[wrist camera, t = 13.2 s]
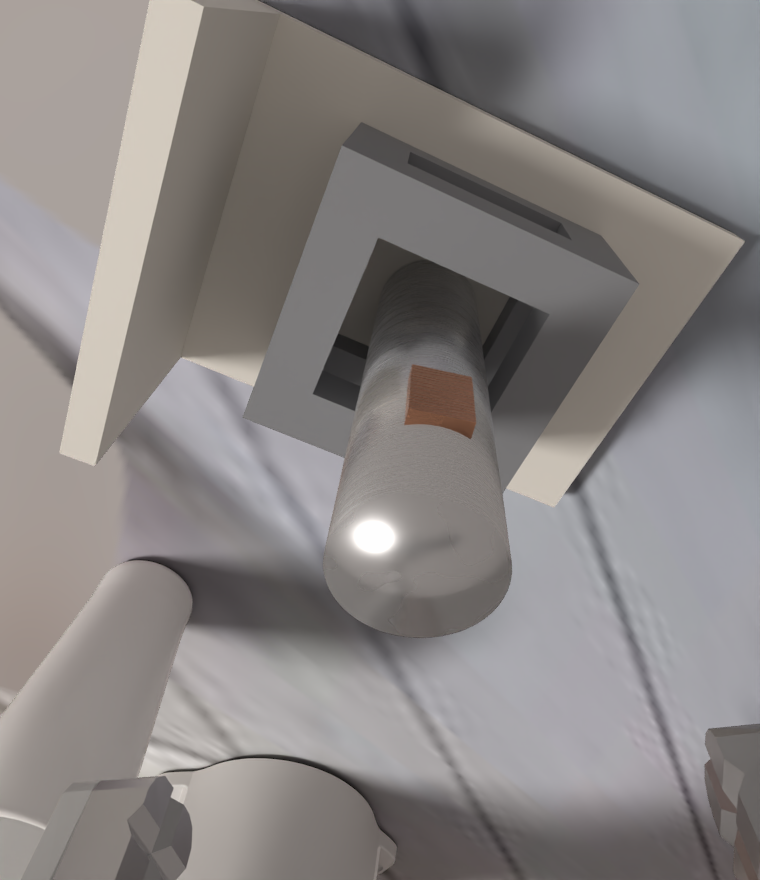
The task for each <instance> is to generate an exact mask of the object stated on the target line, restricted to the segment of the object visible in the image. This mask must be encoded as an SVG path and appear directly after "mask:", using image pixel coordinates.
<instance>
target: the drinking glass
mask: <svg viewBox="0 0 760 880" xmlns="http://www.w3.org/2000/svg"><path fill="white" fill-rule="evenodd" d="M192 607H193V600H192V595H191V592H190V589H189V587H188V586H187V584H186V583H185V581H184V580H183V579H182V578H181V577H180V576H179V575H178V574H177V573H175V572H174V571H172V570H171V569H169V568H167V567H165V566H163V565H161V564H158V563H155V562H151V561H144V560H133V561H127V562H123V563H120V564H118V565H116V566H115V567H113V568H112V569H110V570H109V571H108V572H107V573H106V574H105V576H104V577H103V579H102V580H101V581H100V583H99V585H98V586H97V588H96V589H95V591H94V593H93V594H92V596H91V597H90V599H89V600H88V602H87V603H86V604H85V606H84V607H83V608H82V610H81V611H80V613H79V614H78V615H77V616H76V618H75V619H74V620H73V622H72V623H71V625H70V626H69V627H68V628H67V630H66V631H65V633H64V634H63V635H62V636H61V638H60V639H59V640H58V642H57V643H56V644H55V646H54V647H53V648H52V650H51V651H50V652H49V653H48V655H47V656H46V657H45V659H44V660H43V661H42V663H41V664H40V666H39V667H38V668H37V669H36V671H35V672H34V673H33V674H32V676H31V677H30V679H29V680H28V681H27V682H26V683H25V685H24V686H23V687H22V689H21V690H20V691H19V693H18V694H17V695H16V697H15V698H14V699H13V700H12V702H11V703H10V704H9V706H8V707H7V708H6V710H5V711H4V712H3V714H2V715H1V716H0V880H21V878H22V876H23V874H24V872H25V870H26V868H27V866H28V864H29V862H30V860H31V858H32V856H33V853H34V851H35V849H36V847H37V845H38V843H39V841H40V839H41V837H42V835H43V833H44V831H45V829H46V827H47V825H48V822H49V820H50V818H51V816H52V814H53V812H54V810H55V808H56V806H57V804H58V802H59V800H60V798H61V796H62V794H63V792H64V791H65V790H66V789H67V788H68V787H69V786H70V785H71V784H72V783H74V782H85V781H96V780H115V779H128V778H138V776H139V773H140V770H141V766H142V763H143V760H144V757H145V754H146V750H147V747H148V744H149V740H150V737H151V734H152V731H153V727H154V724H155V721H156V717H157V714H158V711H159V708H160V704H161V701H162V698H163V695H164V691H165V688H166V685H167V682H168V678H169V675H170V672H171V669H172V666H173V662H174V659H175V656H176V653H177V650H178V647H179V644H180V641H181V638H182V635H183V632H184V630H185V627H186V625H187V623H188V620H189V618H190V615H191V612H192Z"/></svg>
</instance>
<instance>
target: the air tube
mask: <svg viewBox="0 0 760 880" xmlns="http://www.w3.org/2000/svg"><path fill="white" fill-rule="evenodd" d="M323 571H324V575H325V580H326V583H327V585H328V588H329V590H330V591H331V593H332V595H333V597H334V598H335V599H336V601H337V602H338V603H339V604H340V605H341V606H342V607H343V608H344V609H345V610H346V611H347V612H348V613H349V614H350V615H352V616H353V617H354V618H356V619H357V620H359V621H360V622H362V623H364V624H365V625H368V626H370V627H372V628H374V629H377V630H379V631H382V632H385V633H389V634H393V635H397V636H403V637H413V638H431V637H439V636H445V635H449V634H453V633H456V632H459V631H462V630H465V629H467V628H469V627H471V626H474V625H475V624H477V623H479V622H480V621H482V620H483V619H485V618H486V617H487V616H488V615H490V614H491V613H492V612H493V611H494V610H495V609H496V608H497V607H498V605H499V604H500V603H501V601H502V600H503V599H504V597H505V595H506V593H507V591H508V588H509V585H510V582H511V575H512V561H511V554H510V547H509V539H508V532H507V525H506V517H505V510H504V503H503V495H502V488H501V481H500V474H499V466H498V459H497V452H496V444H495V437H494V430H493V422H492V415H491V408H490V401H489V393H488V386H487V379H486V371H485V364H484V357H483V349H482V342H481V335H480V327H479V320H478V313H477V306H476V299H475V294H474V291H473V288H472V286H471V284H470V282H469V281H468V279H467V278H466V277H465V276H463V275H461V274H459V273H457V272H454V271H452V270H450V269H448V268H445V267H443V266H441V265H439V264H436V263H434V262H432V261H430V260H418V261H414V262H411V263H409V264H406V265H404V266H402V267H401V268H399V269H398V270H397V271H395V272H394V273H393V274H392V275H391V276H390V278H389V279H388V280H387V282H386V283H385V285H384V287H383V289H382V292H381V295H380V300H379V304H378V309H377V313H376V318H375V322H374V327H373V331H372V336H371V341H370V345H369V350H368V354H367V359H366V363H365V368H364V373H363V377H362V382H361V386H360V391H359V395H358V400H357V405H356V409H355V414H354V418H353V423H352V427H351V432H350V437H349V441H348V446H347V450H346V455H345V459H344V464H343V469H342V473H341V478H340V482H339V487H338V491H337V496H336V501H335V505H334V510H333V514H332V519H331V523H330V528H329V533H328V537H327V542H326V546H325V551H324V558H323Z"/></svg>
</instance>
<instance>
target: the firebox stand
mask: <svg viewBox="0 0 760 880" xmlns="http://www.w3.org/2000/svg"><path fill="white" fill-rule="evenodd" d="M744 242H745V241H744V240H742V239H741V238H740V237H738V236H737V235H735V234H734V233H732V232H730V231H728V230H726V229H724V228H722V227H720V226H718V225H716V224H714V223H711V222H709V221H707V220H705V219H703V218H701V217H699V216H697V215H695V214H693V213H691V212H689V211H687V210H685V209H683V208H681V207H679V206H677V205H675V204H673V203H671V202H669V201H667V200H665V199H663V198H660V197H658V196H656V195H654V194H652V193H650V192H648V191H646V190H644V189H642V188H640V187H638V186H636V185H634V184H632V183H630V182H628V181H626V180H624V179H622V178H620V177H618V176H616V175H614V174H611V173H609V172H607V171H605V170H603V169H601V168H599V167H597V166H595V165H593V164H591V163H589V162H587V161H585V160H583V159H581V158H579V157H577V156H575V155H573V154H571V153H569V152H567V151H565V150H563V149H560V148H558V147H556V146H554V145H552V144H550V143H548V142H546V141H544V140H542V139H540V138H538V137H536V136H534V135H532V134H530V133H528V132H526V131H524V130H522V129H520V128H518V127H516V126H514V125H511V124H509V123H507V122H505V121H503V120H501V119H499V118H497V117H495V116H493V115H491V114H489V113H487V112H485V111H483V110H481V109H479V108H477V107H475V106H473V105H471V104H469V103H467V102H465V101H463V100H460V99H458V98H456V97H454V96H452V95H450V94H448V93H446V92H444V91H442V90H440V89H438V88H436V87H434V86H432V85H430V84H428V83H426V82H424V81H422V80H420V79H418V78H416V77H414V76H411V75H409V74H407V73H405V72H403V71H401V70H399V69H397V68H395V67H393V66H391V65H389V64H387V63H385V62H383V61H381V60H379V59H377V58H375V57H373V56H371V55H369V54H367V53H365V52H363V51H360V50H358V49H356V48H354V47H352V46H350V45H348V44H346V43H344V42H342V41H340V40H338V39H336V38H334V37H332V36H330V35H328V34H326V33H324V32H322V31H320V30H318V29H316V28H314V27H312V26H309V25H307V24H305V23H303V22H301V21H299V20H297V19H295V18H293V17H291V16H289V15H287V14H285V13H283V12H281V11H279V10H277V9H275V8H273V7H271V6H269V5H267V4H265V3H263V2H260V1H258V0H150V1H149V6H148V11H147V16H146V21H145V27H144V31H143V36H142V41H141V46H140V51H139V56H138V61H137V66H136V71H135V76H134V81H133V86H132V92H131V97H130V102H129V107H128V112H127V117H126V122H125V127H124V132H123V137H122V142H121V147H120V152H119V157H118V162H117V167H116V172H115V177H114V182H113V187H112V192H111V197H110V202H109V207H108V212H107V218H106V222H105V227H104V232H103V237H102V242H101V247H100V252H99V257H98V262H97V267H96V272H95V277H94V282H93V287H92V292H91V297H90V302H89V307H88V312H87V317H86V322H85V327H84V332H83V337H82V342H81V347H80V352H79V357H78V362H77V367H76V372H75V377H74V382H73V387H72V392H71V397H70V403H69V408H68V413H67V418H66V423H65V428H64V433H63V438H62V443H61V448H60V454H63V455H66V456H68V457H71V458H74V459H77V460H80V461H82V462H85V463H87V464H90V465H93V466H96V464H97V463H98V462H99V461H100V459H101V458H102V457H103V455H104V454H105V453H106V452H107V450H108V449H109V448H110V447H111V445H112V444H113V443H114V442H115V440H116V439H117V438H118V436H119V435H120V434H121V433H122V431H123V430H124V429H125V428H126V426H127V425H128V424H129V422H130V421H131V420H132V419H133V417H134V416H135V415H136V414H137V412H138V411H139V410H140V408H141V407H142V406H143V405H144V403H145V402H146V401H147V400H148V398H149V397H150V396H151V394H152V393H153V392H154V391H155V389H156V388H157V387H158V386H159V384H160V383H161V382H162V380H163V379H164V378H165V377H166V375H167V374H168V373H169V372H170V370H171V369H172V368H173V366H174V365H175V364H176V363H177V361H178V360H179V359H180V358H184V359H186V360H189V361H191V362H194V363H196V364H199V365H201V366H204V367H206V368H209V369H211V370H214V371H216V372H219V373H221V374H224V375H226V376H229V377H231V378H234V379H236V380H239V381H241V382H244V383H246V384H248V385H251V386H253V387H254V388H253V391H252V393H251V396H250V399H249V401H248V404H247V407H246V410H245V412H244V415H243V418H245V419H247V420H250V421H253V422H255V423H258V424H260V425H263V426H265V427H268V428H270V429H273V430H275V431H278V432H280V433H283V434H286V435H288V436H291V437H293V438H296V439H298V440H301V441H303V442H306V443H308V444H311V445H313V446H316V447H318V448H321V449H324V450H326V451H329V452H331V453H334V454H336V455H339V456H341V457H344V458H345V455H346V450H347V446H348V441H349V437H350V432H351V427H352V423H353V418H354V414H355V409H356V405H357V400H358V395H359V391H360V386H361V382H362V377H363V373H364V368H365V363H366V359H367V354H368V350H369V345H370V341H371V336H372V331H373V327H374V322H375V318H376V313H377V309H378V304H379V300H380V295H381V292H382V289H383V287H384V285H385V283H386V282H387V280H388V279H389V278H390V276H391V275H392V274H393V273H394V272H395V271H397V270H398V269H399V268H401V267H402V266H404V265H406V264H409V263H411V262H414V261H418V260H430V261H432V262H434V263H436V264H439V265H441V266H443V267H445V268H448V269H450V270H452V271H454V272H457V273H459V274H461V275H463V276H465V277H466V278H467V279H468V281H469V282H470V284H471V286H472V288H473V291H474V294H475V299H476V306H477V313H478V320H479V327H480V335H481V342H482V349H483V357H484V364H485V371H486V379H487V386H488V393H489V401H490V408H491V415H492V422H493V430H494V437H495V444H496V452H497V459H498V466H499V474H500V481H501V488H502V493H503V492H504V490H505V489H506V488H507V489H509V490H512V491H514V492H517V493H519V494H522V495H524V496H527V497H529V498H532V499H534V500H537V501H539V502H542V503H544V504H547V505H549V506H552V507H555V506H556V504H557V503H558V502H559V500H560V499H561V497H562V496H563V495H564V493H565V492H566V490H567V489H568V488H569V486H570V485H571V483H572V482H573V481H574V479H575V478H576V476H577V475H578V474H579V472H580V471H581V469H582V468H583V467H584V465H585V464H586V463H587V461H588V460H589V458H590V457H591V456H592V454H593V453H594V451H595V450H596V449H597V447H598V446H599V444H600V443H601V442H602V440H603V439H604V437H605V436H606V435H607V433H608V432H609V430H610V429H611V428H612V426H613V425H614V423H615V422H616V421H617V419H618V418H619V417H620V415H621V414H622V412H623V411H624V410H625V408H626V407H627V405H628V404H629V403H630V401H631V400H632V398H633V397H634V396H635V394H636V393H637V391H638V390H639V389H640V387H641V386H642V384H643V383H644V382H645V380H646V379H647V377H648V376H649V375H650V373H651V372H652V371H653V369H654V368H655V366H656V365H657V364H658V362H659V361H660V359H661V358H662V357H663V355H664V354H665V352H666V351H667V350H668V348H669V347H670V345H671V344H672V343H673V341H674V340H675V338H676V337H677V336H678V334H679V333H680V331H681V330H682V329H683V327H684V326H685V325H686V323H687V322H688V320H689V319H690V318H691V316H692V315H693V313H694V312H695V311H696V309H697V308H698V306H699V305H700V304H701V302H702V301H703V299H704V298H705V297H706V295H707V294H708V292H709V291H710V290H711V288H712V287H713V285H714V284H715V283H716V281H717V280H718V279H719V277H720V276H721V274H722V273H723V272H724V270H725V269H726V267H727V266H728V265H729V263H730V262H731V260H732V259H733V258H734V256H735V255H736V253H737V252H738V251H739V249H740V248H741V246H742V245H743V244H744Z"/></svg>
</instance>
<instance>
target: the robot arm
mask: <svg viewBox="0 0 760 880" xmlns="http://www.w3.org/2000/svg"><path fill="white" fill-rule="evenodd" d="M705 746H706V748H707V751H708V754H709V756H710V760H709V761H708V762H707V763H706V764H705V784H706V790H707V795H708V801H709V804H710V807H711V811H712V814H713V817H714V820H715V823H716V826H717V829H718V831H719V834H720V836H721V837H722V838H723V839H724V840H725V841H726V842H728V843H729V844H730V845H731V846H732V847H733V848H734V858H733V872H734V875H735V878H736V880H760V724H751V725H741V726H731V727H721V728H711V729H708V730H707V732H706V736H705ZM396 853H397V846H396V844H395V843H394V842H393V841H392V840H391V839H390V838H389V837H388V836H387V835H386V834H385V833H384V832H382V831H381V830H380V829H379V827H378V825H377V823H376V820H375V817H374V814H373V811H372V809H371V807H370V806H369V804H368V803H367V801H366V800H365V799H364V798H363V797H362V796H361V795H360V794H359V793H358V792H357V791H356V790H355V789H354V788H352V787H351V786H350V785H348V784H347V783H345V782H344V781H342V780H340V779H339V778H337V777H335V776H333V775H331V774H329V773H327V772H324V771H322V770H319V769H316V768H314V767H311V766H307V765H304V764H300V763H296V762H291V761H285V760H278V759H267V758H249V759H238V760H232V761H227V762H223V763H219V764H216V765H213V766H211V767H208V768H205V769H202V770H198V771H192V772H169V773H163V774H160V775H158V776H155V777H142V778H128V779H115V780H96V781H85V782H74V783H72V784H71V785H70V786H69V787H68V788H67V789H66V790H65V791H64V792H63V794H62V796H61V798H60V800H59V802H58V804H57V806H56V808H55V810H54V812H53V814H52V816H51V818H50V820H49V822H48V825H47V827H46V829H45V831H44V833H43V835H42V837H41V839H40V841H39V843H38V845H37V847H36V849H35V851H34V853H33V856H32V858H31V860H30V862H29V864H28V866H27V868H26V870H25V872H24V874H23V876H22V878H21V880H376V879H377V876H378V875H379V874H381V873H382V872H384V871H385V870H387V869H388V868H390V867H391V866H392V865H393V864H394V863H395V859H396Z"/></svg>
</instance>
